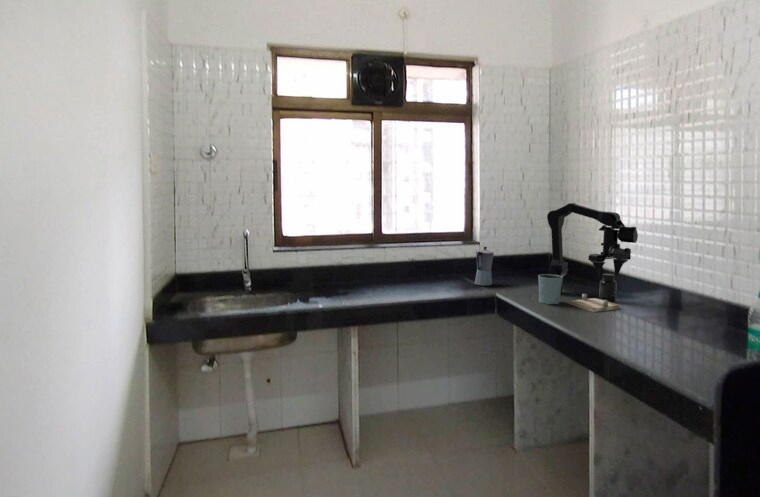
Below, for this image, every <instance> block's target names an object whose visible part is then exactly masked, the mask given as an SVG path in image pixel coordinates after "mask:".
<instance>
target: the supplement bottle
mask: <svg viewBox="0 0 760 497" xmlns="http://www.w3.org/2000/svg"><path fill="white" fill-rule="evenodd" d="M615 276H616V275H615V273H602V277H601V278H602V279H601V280H600V281H599V292H598V293H599V295H598V299H601V300H608V302H611V303H616V300H617V287H618V286H617V281H616V280H615V279H616V277H615Z"/></svg>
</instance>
